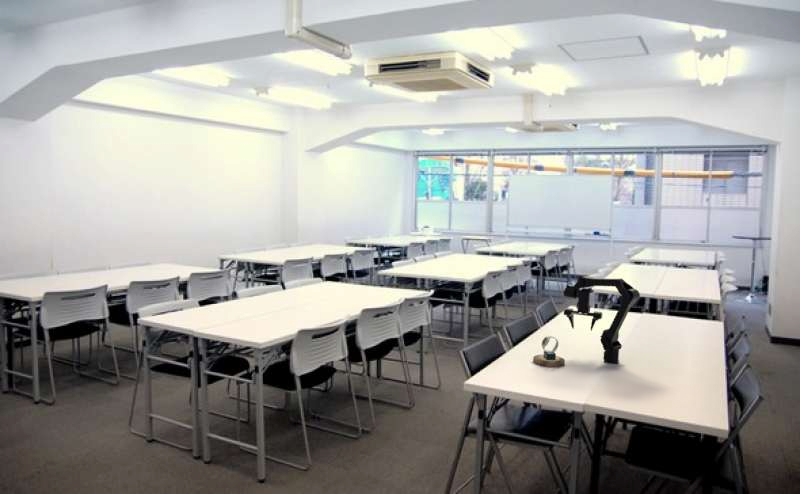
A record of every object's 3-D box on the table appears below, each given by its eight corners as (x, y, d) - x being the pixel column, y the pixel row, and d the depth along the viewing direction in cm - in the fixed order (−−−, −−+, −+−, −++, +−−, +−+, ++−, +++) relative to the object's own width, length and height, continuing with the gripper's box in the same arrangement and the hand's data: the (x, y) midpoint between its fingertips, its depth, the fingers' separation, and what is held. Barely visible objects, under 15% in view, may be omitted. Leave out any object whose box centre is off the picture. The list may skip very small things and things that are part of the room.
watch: (539, 356, 284) (540, 335, 283) (555, 356, 284) (556, 335, 283) (542, 359, 279) (543, 337, 278) (559, 360, 279) (560, 338, 278)
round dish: (567, 361, 285) (567, 356, 285) (561, 369, 272) (561, 364, 272) (537, 356, 292) (537, 352, 292) (529, 364, 279) (530, 359, 278)
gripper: (604, 299, 299) (603, 329, 301) (568, 296, 308) (566, 324, 309) (601, 303, 289) (599, 333, 291) (564, 299, 298) (562, 328, 299)
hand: (582, 329), depth 298 cm, fingers open, 9 cm apart
